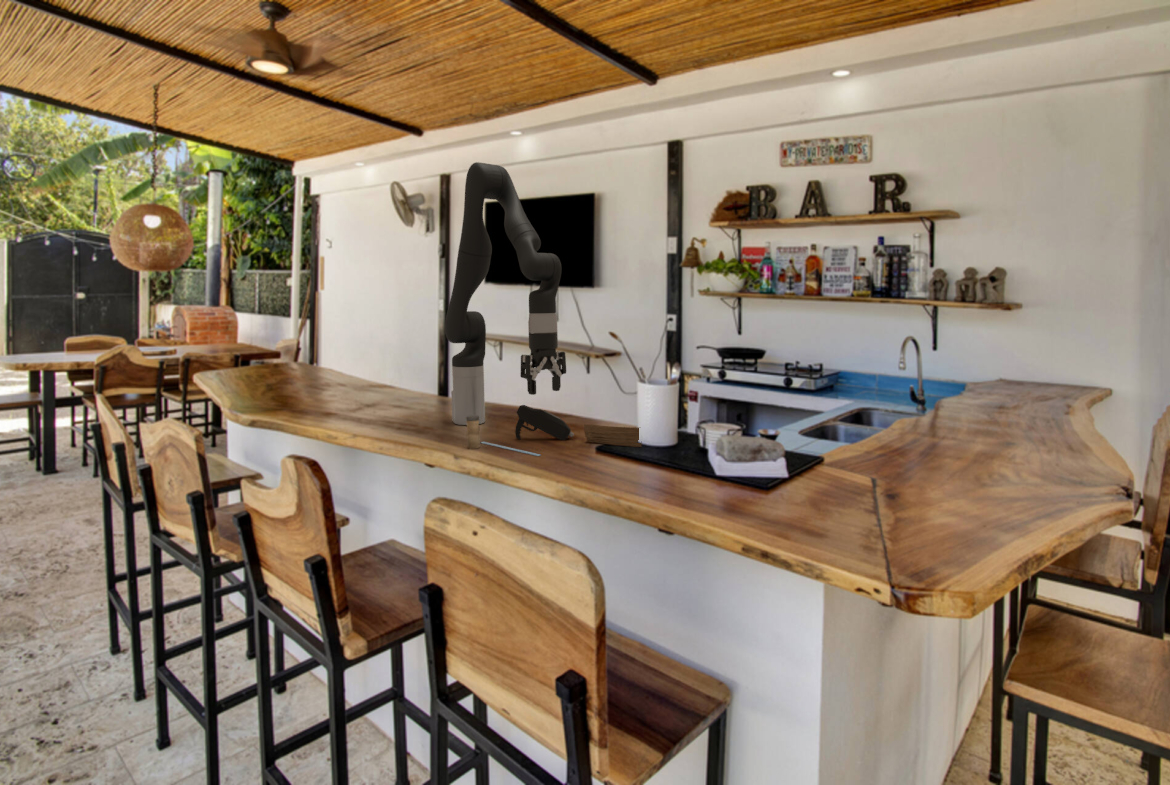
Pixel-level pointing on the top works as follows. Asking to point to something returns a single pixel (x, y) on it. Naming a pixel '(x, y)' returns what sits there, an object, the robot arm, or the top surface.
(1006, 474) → the top surface
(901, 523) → the top surface
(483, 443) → the tape line
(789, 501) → the top surface
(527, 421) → the gun
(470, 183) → the robot arm
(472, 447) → the peg
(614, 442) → the wood plank
